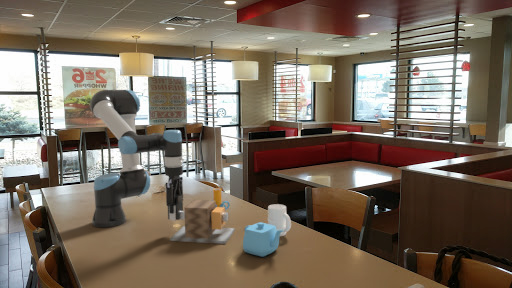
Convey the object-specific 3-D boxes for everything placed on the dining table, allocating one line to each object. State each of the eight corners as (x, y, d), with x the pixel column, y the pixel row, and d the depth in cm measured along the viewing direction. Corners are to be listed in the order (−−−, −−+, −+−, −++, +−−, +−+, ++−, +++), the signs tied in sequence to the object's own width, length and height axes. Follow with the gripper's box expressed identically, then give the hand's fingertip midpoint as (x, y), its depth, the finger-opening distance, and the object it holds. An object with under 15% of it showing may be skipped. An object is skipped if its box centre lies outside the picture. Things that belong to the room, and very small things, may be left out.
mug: (283, 240, 157) (283, 212, 156) (264, 233, 166) (263, 206, 165) (296, 235, 163) (296, 208, 161) (277, 228, 172) (277, 203, 170)
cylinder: (224, 223, 180) (224, 192, 178) (203, 222, 182) (203, 191, 180) (231, 215, 192) (230, 186, 190) (211, 214, 194) (211, 186, 192)
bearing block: (170, 240, 159) (168, 208, 157) (184, 227, 175) (183, 198, 173) (225, 243, 155) (224, 210, 153) (234, 230, 170) (233, 200, 169)
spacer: (211, 229, 160) (211, 212, 159) (216, 223, 167) (216, 207, 166) (220, 229, 159) (220, 212, 158) (225, 223, 166) (225, 207, 165)
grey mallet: (168, 219, 164) (167, 196, 163) (172, 215, 169) (171, 194, 168) (226, 222, 159) (225, 199, 158) (229, 218, 164) (228, 196, 163)
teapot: (274, 263, 135) (274, 233, 134) (235, 252, 146) (235, 223, 145) (292, 252, 145) (292, 223, 144) (254, 242, 156) (254, 215, 155)
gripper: (173, 170, 153) (175, 225, 156) (189, 162, 172) (191, 211, 174) (156, 169, 155) (158, 224, 157) (174, 162, 173) (175, 211, 176)
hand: (175, 217), depth 166 cm, fingers open, 6 cm apart
